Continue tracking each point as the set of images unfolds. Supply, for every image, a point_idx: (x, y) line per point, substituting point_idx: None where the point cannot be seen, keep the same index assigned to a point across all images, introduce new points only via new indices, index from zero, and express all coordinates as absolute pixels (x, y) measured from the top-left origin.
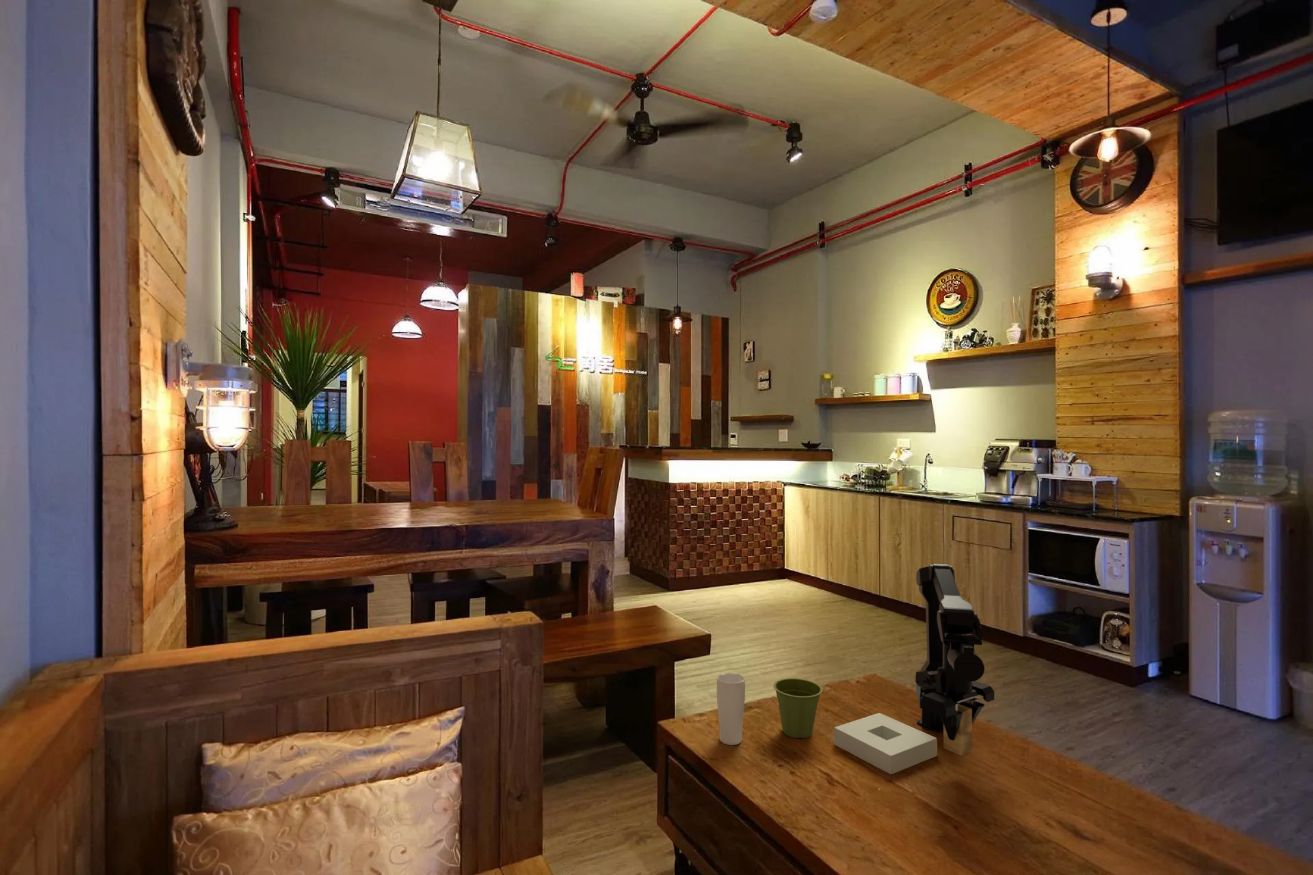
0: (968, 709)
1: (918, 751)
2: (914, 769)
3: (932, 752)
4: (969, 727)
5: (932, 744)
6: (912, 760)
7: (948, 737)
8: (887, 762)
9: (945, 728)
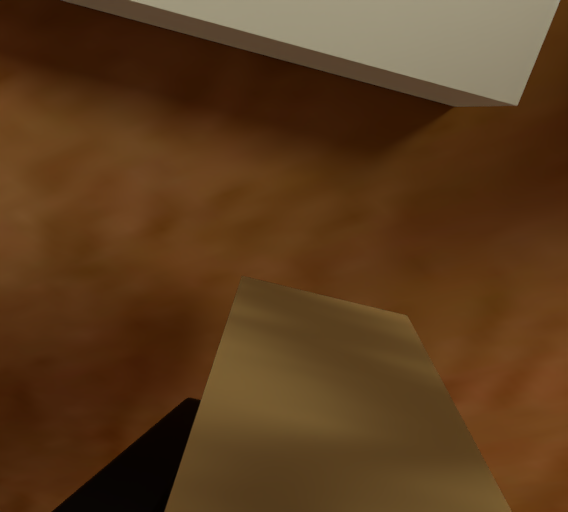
0: None
1: (235, 37)
2: (142, 67)
3: (413, 92)
4: None
5: (435, 88)
6: (169, 25)
7: (180, 403)
8: None
9: (103, 470)
